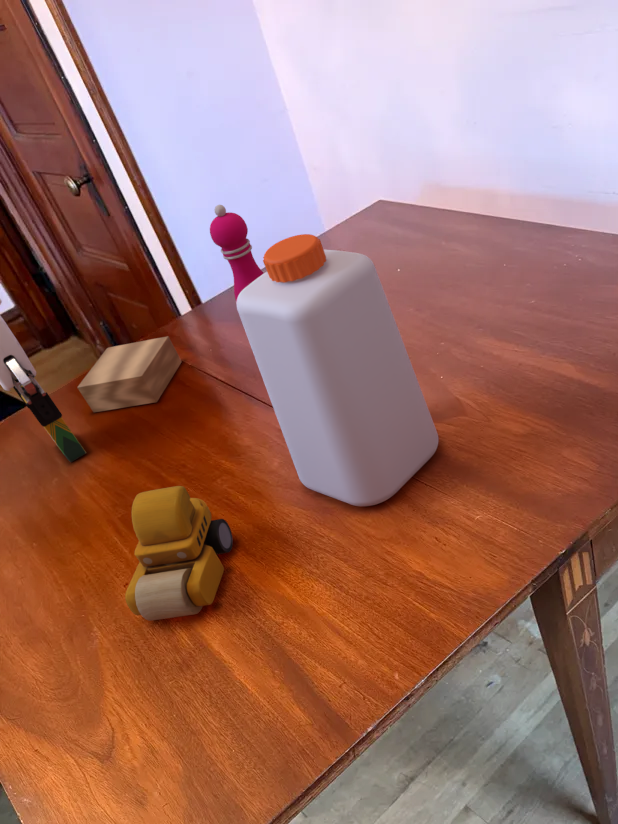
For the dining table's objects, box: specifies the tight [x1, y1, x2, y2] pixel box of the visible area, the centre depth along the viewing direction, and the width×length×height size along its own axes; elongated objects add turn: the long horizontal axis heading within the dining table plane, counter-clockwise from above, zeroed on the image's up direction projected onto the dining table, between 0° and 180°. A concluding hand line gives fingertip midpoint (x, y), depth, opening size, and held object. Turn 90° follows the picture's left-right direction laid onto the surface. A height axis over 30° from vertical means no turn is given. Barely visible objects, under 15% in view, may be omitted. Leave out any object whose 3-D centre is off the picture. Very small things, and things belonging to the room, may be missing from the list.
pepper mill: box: [209, 204, 265, 303], centre depth 124 cm, size 7×7×20 cm
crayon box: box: [21, 395, 87, 463], centre depth 111 cm, size 7×3×12 cm, turn 36°
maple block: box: [77, 335, 183, 413], centre depth 123 cm, size 12×12×5 cm
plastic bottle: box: [235, 233, 439, 507], centre depth 83 cm, size 15×15×28 cm
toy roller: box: [124, 485, 234, 622], centre depth 82 cm, size 9×14×10 cm, turn 177°
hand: (45, 411), depth 110 cm, fingers closed on crayon box, 7 cm apart
